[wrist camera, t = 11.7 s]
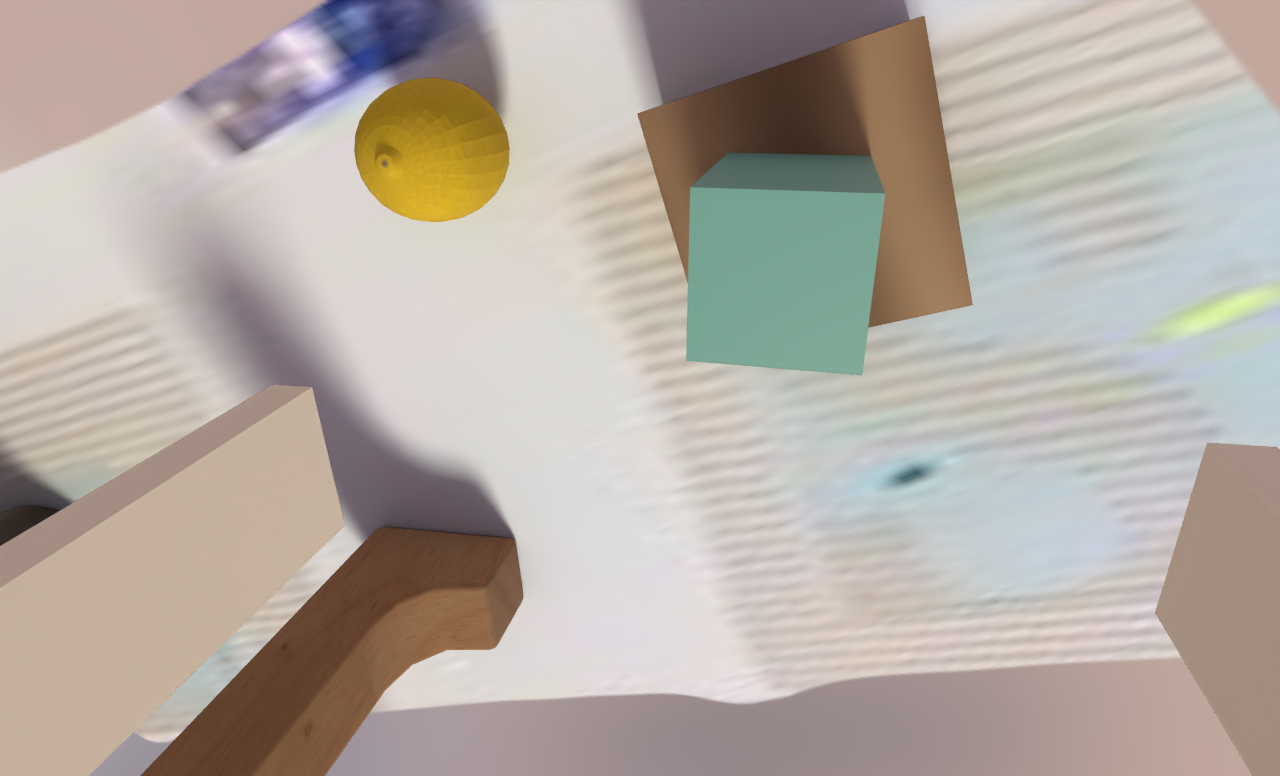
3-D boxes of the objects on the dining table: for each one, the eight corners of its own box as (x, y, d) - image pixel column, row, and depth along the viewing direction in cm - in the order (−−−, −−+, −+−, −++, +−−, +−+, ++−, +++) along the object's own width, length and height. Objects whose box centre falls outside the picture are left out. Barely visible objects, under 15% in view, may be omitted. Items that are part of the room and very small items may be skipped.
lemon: (520, 219, 35) (440, 261, 28) (413, 179, 35) (308, 210, 28) (548, 99, 32) (468, 112, 25) (433, 57, 33) (322, 58, 25)
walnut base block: (726, 321, 35) (711, 361, 30) (664, 105, 31) (637, 113, 27) (952, 269, 31) (972, 305, 27) (909, 21, 28) (924, 15, 24)
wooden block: (517, 536, 42) (328, 826, 26) (526, 598, 44) (355, 906, 28) (378, 523, 45) (125, 784, 29) (392, 583, 46) (162, 861, 30)
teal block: (722, 285, 29) (686, 360, 22) (728, 152, 27) (690, 187, 20) (854, 294, 28) (861, 375, 21) (871, 155, 26) (885, 193, 19)
